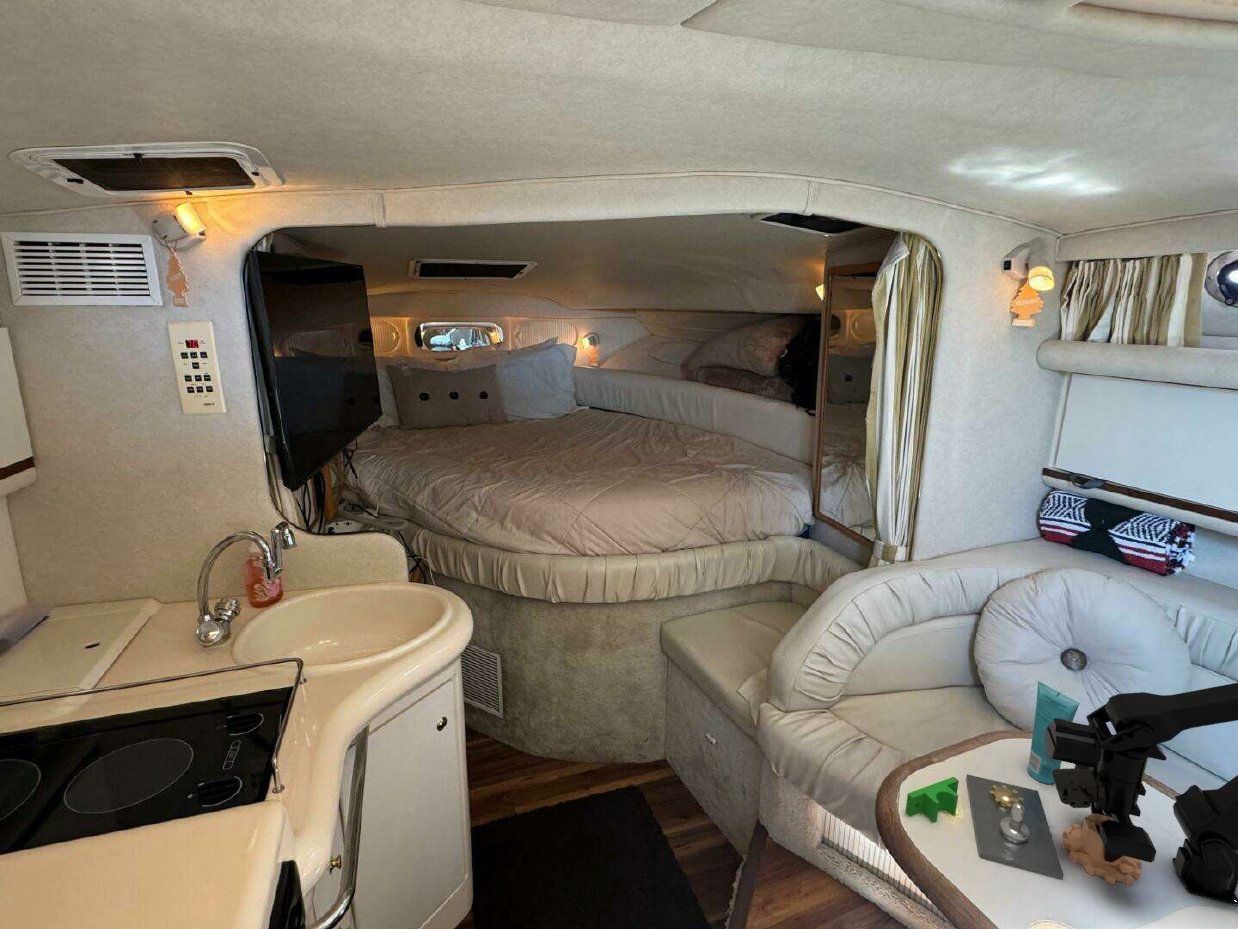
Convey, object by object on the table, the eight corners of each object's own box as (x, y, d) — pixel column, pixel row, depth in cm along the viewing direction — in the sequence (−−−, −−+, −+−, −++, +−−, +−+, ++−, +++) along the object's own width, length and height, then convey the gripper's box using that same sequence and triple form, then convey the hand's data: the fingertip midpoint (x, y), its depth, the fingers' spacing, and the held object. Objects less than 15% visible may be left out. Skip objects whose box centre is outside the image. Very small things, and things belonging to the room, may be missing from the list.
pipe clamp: (920, 829, 113) (923, 808, 111) (905, 813, 116) (907, 793, 115) (967, 810, 116) (970, 790, 115) (951, 795, 120) (953, 776, 118)
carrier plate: (1036, 795, 119) (1043, 764, 117) (1062, 880, 102) (1070, 845, 100) (966, 778, 124) (970, 748, 122) (979, 857, 107) (985, 823, 105)
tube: (1068, 781, 122) (1086, 697, 117) (1056, 792, 120) (1073, 707, 114) (1028, 758, 128) (1043, 677, 123) (1015, 768, 126) (1030, 686, 120)
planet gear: (1127, 840, 109) (1134, 812, 107) (1151, 894, 100) (1159, 864, 98) (1054, 822, 113) (1060, 795, 111) (1070, 872, 103) (1077, 843, 102)
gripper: (1048, 722, 113) (1034, 793, 117) (1077, 799, 96) (1060, 878, 100) (1123, 737, 109) (1106, 810, 113) (1167, 820, 92) (1145, 901, 96)
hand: (1102, 846), depth 106 cm, fingers closed on planet gear, 6 cm apart
